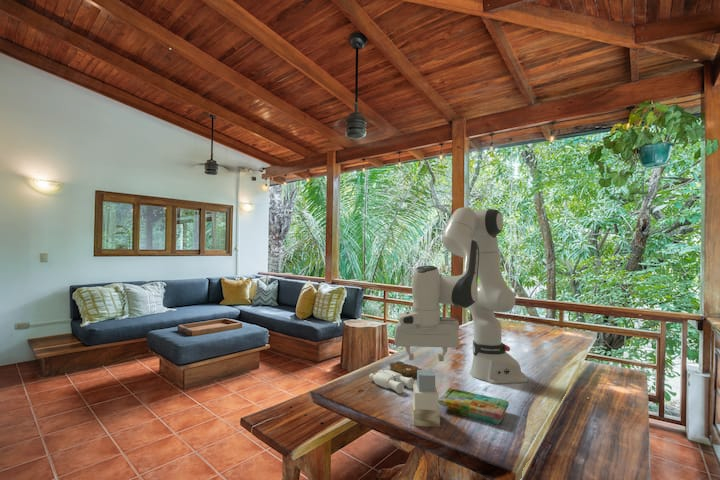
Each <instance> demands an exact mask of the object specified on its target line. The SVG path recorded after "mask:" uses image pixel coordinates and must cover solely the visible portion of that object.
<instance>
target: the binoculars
mask: <svg viewBox="0 0 720 480" xmlns="http://www.w3.org/2000/svg"><path fill="white" fill-rule="evenodd" d="M368 377H369V378H368V379H369V380H372V381H373V382H374V384H375V385H377V386H379V387H382V388H383V389H387V390H390V389H392V390H393V391H395V392H396V393H397V394H401V393H403V391H404V390H405V387H407V388H408V389H413V384H415V380H414V379H413V378H408V377H404V376H403V375H402V374H399V373H396V372H394V371H391V370H390V369H386V370H385V369H384V370H383V369H380V370H378V371H377V372H376V373H375V374H374V373H372V372H371V373H370V374H369V376H368Z"/></svg>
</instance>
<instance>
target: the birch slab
mask: <svg viewBox="0 0 720 480" xmlns="http://www.w3.org/2000/svg"><path fill="white" fill-rule="evenodd" d="M411 418H412V419H411V420H412V424H413V426H414V427H435V428H437V427H438V428H440V427H441V409H440V406H439V405H438V410H417V409H415V407H414V401H413V398H411Z"/></svg>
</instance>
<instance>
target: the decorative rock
mask: <svg viewBox="0 0 720 480" xmlns="http://www.w3.org/2000/svg"><path fill="white" fill-rule="evenodd" d="M389 367H390V368H389V370H390V371H394V372H396V373H399V374H401V375H402V376H403V377H408V378H413V379H417V370H423V369H422V368H419V367H418V366H415V365H412V364H408V363H404V362H403V361H400V360H398V361H396V362H390V363H389Z"/></svg>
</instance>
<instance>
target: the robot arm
mask: <svg viewBox="0 0 720 480" xmlns="http://www.w3.org/2000/svg"><path fill="white" fill-rule="evenodd" d="M503 228H504V218H503V215H502V213H501V212H500V211H499V210H498V209H494V208H488V209H471V208H469V207H466V206H465V207H459V208H457V209H456V210H454V212H453V213H452V215H450V217H449V218H448V221H447V223H446V225H445V227H444V229H443V231H442V232H443V233H442V239H441V241H442V244H443V246H444V247H445V249H446V250H447V251H448V252H449V253H451V254H452V255H454V256H458V257H460V258H462V259H464V264H463V273H462V274H460V275H445V274H441V273H439V268H438V267H437V266H435V265H422V266H421V265H420V266H418V267H416V268H415V269H414V271H413V275H412V282H411V283H412V286H411V288H412V289H411V291H412V292H411V294H412V297H413V298H412V299H413V300H412V302H413V303H412V307H411V310H408V311H404V312H401V313H399V314H398V322H397V323H396V326H395V330H394V339H393V340H394V344H395V346H396V347H405V351H406V353H407V355H408V360H409V361H415V355H414V353H411V351H410V350H411V347H412V348H413V347H415V348H418V347H419V348H441V349H442V351H441V353H438V354H437V355H438V356H437V357H438V359H437V360H438V361H439V362H444V361H445V355H446V354H447V352H448V348H457V347H458V346H459V345H460V338H459V332H458V331H459V329H460V322H459V320H458V319H457V318H455V317H453V316H452V317H446V316H441V305H447V306H456V307H460V308H464V309H468V308H469V310H470V313H471V317H472V321H473V341H472V354H473V355H472V357H473V358H472V364H471V367H470V371H469V373H470V375H471V376H472V377H474V378H476V379H478V380H482V381H485V382H488V383H490V384H494V385H495V384H498V385H499V384H516V383H527V382H528V377H527V375H526V374H525V373H524V372H523V371H522V369H521V365H520V363H519V362H518V361H517V359H515V358H514V357H513V356H512V355H510V354H509V353H508V352H510V351H511V347H510V346H508V345H506V344H505V343H503V342H502V324H501V322H500V321H499V320H498V318H497V317H496V314H495V313H508V312H509V313H510V312H511V311H512V310H513V308H515V306H516V295H515V293H514V292H513V290H512V289H511V288H509V286H508V285H507V283H506V281H505V279H504V276H503V274H502V271H501V267H500V266H501V264H500V255H499V244H498V243H499V242H498V239H497V236H498V235H499V234H500V233H501V232H502V231H503ZM478 281H479V282H478Z"/></svg>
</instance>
